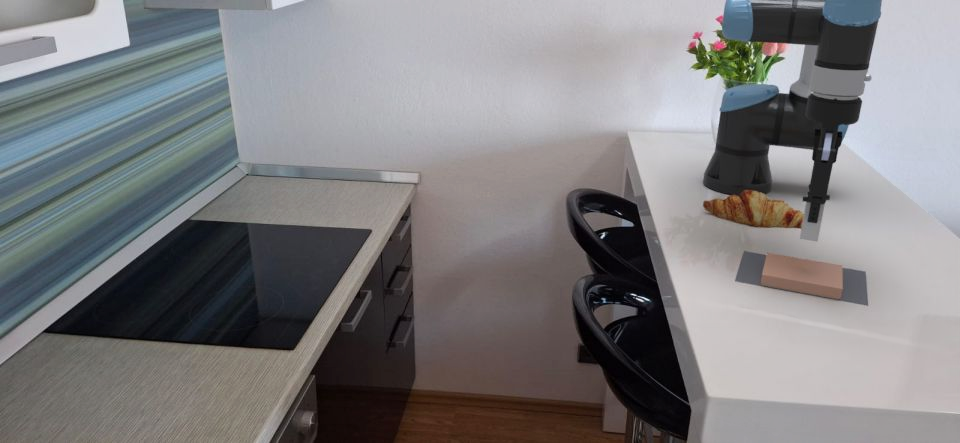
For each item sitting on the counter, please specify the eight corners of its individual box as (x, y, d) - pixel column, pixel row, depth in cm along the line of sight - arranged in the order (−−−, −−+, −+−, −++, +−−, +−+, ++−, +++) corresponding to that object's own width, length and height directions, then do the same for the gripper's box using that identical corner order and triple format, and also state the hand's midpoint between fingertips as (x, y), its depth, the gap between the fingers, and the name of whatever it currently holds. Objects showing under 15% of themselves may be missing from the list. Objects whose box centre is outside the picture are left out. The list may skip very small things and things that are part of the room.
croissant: (807, 242, 152) (814, 204, 153) (812, 235, 143) (819, 195, 143) (700, 224, 159) (707, 187, 160) (698, 216, 150) (706, 178, 151)
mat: (743, 255, 136) (744, 251, 136) (864, 275, 129) (865, 271, 128) (734, 285, 124) (734, 280, 124) (867, 310, 117) (868, 305, 116)
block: (767, 252, 130) (762, 274, 122) (842, 265, 126) (842, 288, 117) (765, 263, 131) (760, 285, 122) (840, 276, 126) (840, 300, 118)
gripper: (864, 105, 106) (833, 257, 115) (862, 89, 117) (834, 229, 126) (807, 100, 109) (781, 248, 118) (810, 85, 120) (786, 222, 129)
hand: (808, 238), depth 122 cm, fingers closed
